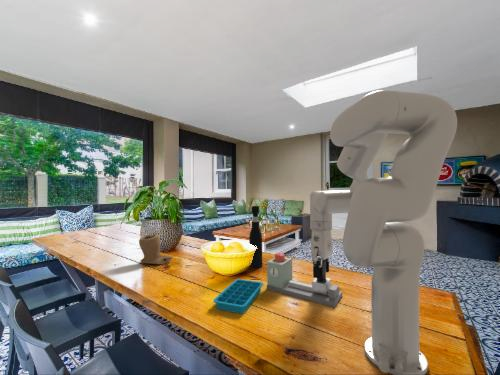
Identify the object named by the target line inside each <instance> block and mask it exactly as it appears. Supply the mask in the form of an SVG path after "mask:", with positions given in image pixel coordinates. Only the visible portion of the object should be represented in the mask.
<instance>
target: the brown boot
mask: <svg viewBox="0 0 500 375" xmlns="http://www.w3.org/2000/svg"><path fill="white" fill-rule="evenodd" d="M138 243H139V246H140V247H139V248H140V250H141V251H142V253H143V258H142V259H141V260H140V263H142V264H150V265H151V264H153V265H165V264H168V263H169V262H170V261H172V259H173V256H169V255H161V252H160V251H161V239H160V236H159V234H157V233H156V234H155V233H154V234H148V235H145V236H142V237H141V238H139V240H138Z"/></svg>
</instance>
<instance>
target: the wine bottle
mask: <svg viewBox="0 0 500 375" xmlns="http://www.w3.org/2000/svg"><path fill="white" fill-rule="evenodd" d="M259 213H260V205H252V206H251V214H252V219H251V220H252V221H251V229H250V233H249V239H248V240H249V242H248V243H250V244H252V245H254V246H255V245H256V246H257V248H258V249H256V251H255V253H254V256H253V260H252V263H251V265H250V264H249V267H250V268H251V269H259V268H262V267H263V235H262V231H261V228H260V220H259ZM256 246H255V247H256Z"/></svg>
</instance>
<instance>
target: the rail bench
mask: <svg viewBox="0 0 500 375" xmlns="http://www.w3.org/2000/svg"><path fill="white" fill-rule="evenodd" d="M266 267H267V268H266V280H267V281H266V282H267V283H266V290H270V291H273V292H277V293H281V294H285V295H288V296H292V297H295V298H298V299H303V300H305V301H310V302H314V303H318V304H322V305H325V306H329V307H333V308H336V306H337V304H338V303H339V302H340V300H341V298H342V297H343V291H342V290H340V285H338V284H331V287H330V289H329V290H328V291H327V295H324V294H320V293H316V292H313V290H312V283H306V282H302V281H298V280H294V279H293V258H290V257H286V256H285V262H283V263H281V262H276V261H275V257H274V258H271V259H269V260H268V261H266Z"/></svg>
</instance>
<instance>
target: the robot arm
mask: <svg viewBox="0 0 500 375" xmlns="http://www.w3.org/2000/svg"><path fill="white" fill-rule="evenodd" d="M457 128H458V116H457V113H456V111H455V109H454V107H453V106H452V105H451V104H450V103H449V102H448V101H447V100H445V99H443V98H441V97H439V96H436V95H432V94H426V93H422V92H410V91H397V90H388V89H387V90H386V89H385V90H384V89H381V90H380V89H379V90H375V91H372V92H370V93H368V94H366V95H364V96H363V97H362V98H360V99H359V100H356V102H353V104H351V105H349V107H347V108H345V109H344V110H343V111H342V112H341V113H339V115H337V117H336V118H335V120H334V121H333V123H332V125H331V127H330V130H329V131H330V133H329V134H330V140H331V142H332V144H333V145H334V146H336V147H340V148H341V147H343V148H342V150H341V152H340V155H339V157H338V159H337V161H336V166H337V168H338V170H339V171H340V172H341V173H342V174H344V175H346V176H347V177H349V178H351V179H352V183H351V185H349V188H348V190H347V189H346V190H313V191H311V192H310V194H309V216H310V217H309V221H310V222H309V224H310V225H309V226H310V227H309V229H310V230H311V236H310V237H311V240H310V241H311V242H310V253H311V261H312V266H313V267H312V271H313V272H312V273H313V274H312V275H313V279H315V278H319V279H322V278H323V267H322V259H323V260H326V273H330V256H332V254H333V241H332V240H333V238H332V230H333V214H334V215H336V214H347V216H346V217H347V218H346V222H345V225H344V230H343V231H344V232H343V238H342V249H343V253H344V256H345V258H346V259H347V261H348V262H349V263H350V264H352V265H353V266H355V267H357V268H363V269H364V268H365V269H366V268H367V269H369V268H374V269H373V271H372V274H371V289H370V290H371V291H370V292H371V297H370V298H371V303H370V304H371V337H369V338H368V339H366V341H365V342H364V352H365V355H366V356H367V358H368V359H369V360H370V361H371V362H372V363H373V364H374V365H375V366H376V367H378V369H379V370H380V371H381V372H382V373H384V374H388V373H389V374H392V375H426V374H427V373H428V370H429V363H428V359H427V358H426V356H425V355H424V353H422V352H421V351H420V277H421V276H420V275H421V269H422V265H423V261H424V260H423V259H424V255H425V243H424V242H425V241H424V238H423V236H422V234H421V232H420V231H419V230H418V229H417V228H416V227H415V226H414V225H411V224H409V223H406V222H413V221H417V220H420V219H422V218H423V217H425V216H426V215H427V213H428V211H429V209H430V206H431V203H432V200H433V198H434V196H435V195H434V194H435V192H436V188H437V186H438V182H439V179H440V175H441V173H442V169H443V166H444V162H445V160H446V158H447V155H448V152H449V151H450V148H451V147H452V144H453V141H454V140H455V139H454V138H455V136H456V132H457ZM389 134H390V135H391V134H394V135H395V134H396V135H399V134H400V135H407V136H408V138H407V139H406V140H405V141H404V142H403V143H402V145H401V146H400V147H399V149H398V150H397V151H396V154H395V156H394V158H393V162H392V167H391V170H390V172H389V175H388V176H387V177H373V178H372V177H371V178H368V176H367V171H368V170H369V168H370V167H371V165H372V163H373V161H374V160H375V158H376V156H377V155H378V153H379V151H380V149H381V148H382V146H383V144H384V143H385V140H386V139H387V137H388V135H389ZM317 260H320V263H319V261H317Z"/></svg>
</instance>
